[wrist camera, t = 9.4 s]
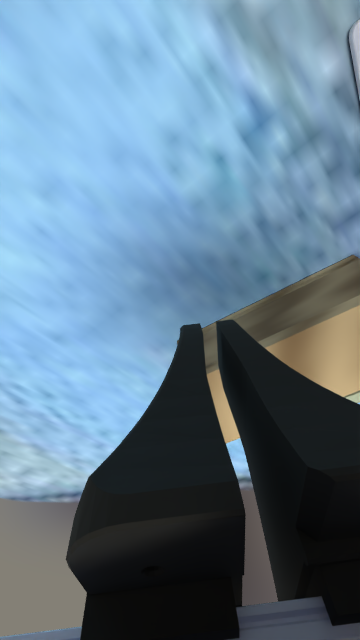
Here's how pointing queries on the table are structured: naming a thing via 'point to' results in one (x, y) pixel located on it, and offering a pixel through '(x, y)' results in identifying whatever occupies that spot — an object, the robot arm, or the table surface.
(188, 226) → the table surface
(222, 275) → the table surface
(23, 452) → the table surface
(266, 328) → the tan wooden crate
